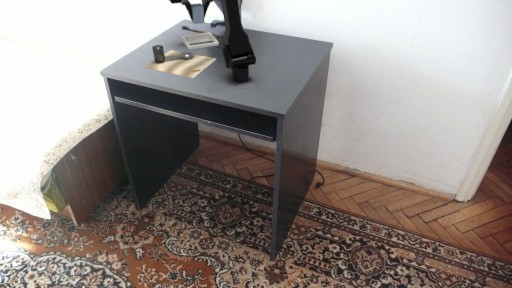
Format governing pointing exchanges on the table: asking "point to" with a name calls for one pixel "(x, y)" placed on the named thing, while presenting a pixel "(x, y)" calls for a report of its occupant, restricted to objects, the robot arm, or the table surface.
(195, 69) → the crank plate
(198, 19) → the block
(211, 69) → the table surface
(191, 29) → the tactical tomahawk
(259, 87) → the table surface
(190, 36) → the tray
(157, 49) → the crank
